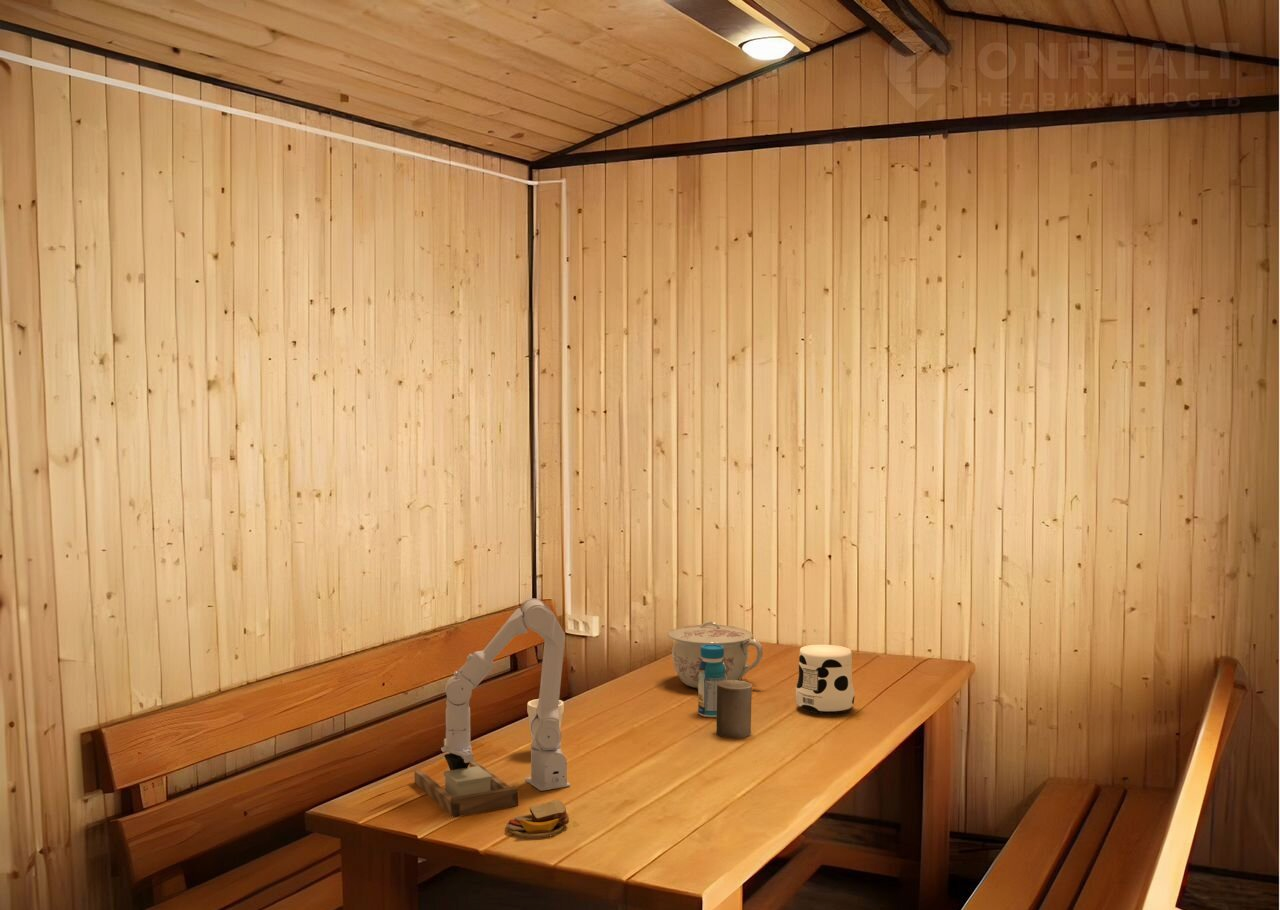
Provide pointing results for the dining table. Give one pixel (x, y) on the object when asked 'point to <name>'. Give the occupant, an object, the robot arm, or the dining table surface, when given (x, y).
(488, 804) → the bay
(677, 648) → the chamber pot
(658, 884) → the dining table surface
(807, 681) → the milk container
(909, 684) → the dining table surface
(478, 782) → the beige square block
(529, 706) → the foam cup
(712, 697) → the beverage bottle
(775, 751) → the dining table surface
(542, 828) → the toy sandwich meal
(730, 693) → the pillar candle
